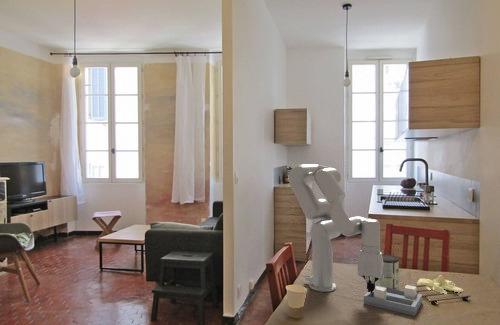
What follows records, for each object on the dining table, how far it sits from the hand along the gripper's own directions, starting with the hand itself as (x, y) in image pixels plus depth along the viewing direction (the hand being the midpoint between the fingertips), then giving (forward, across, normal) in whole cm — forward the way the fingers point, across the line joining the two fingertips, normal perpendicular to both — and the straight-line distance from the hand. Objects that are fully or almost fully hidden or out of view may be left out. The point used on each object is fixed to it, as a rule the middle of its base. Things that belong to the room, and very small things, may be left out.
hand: (370, 291), depth 154 cm
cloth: (+6, +22, +35) cm, 42 cm away
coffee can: (+5, +1, +22) cm, 23 cm away
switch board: (+5, +8, +4) cm, 10 cm away
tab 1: (+3, +4, 0) cm, 5 cm away
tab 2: (+3, +14, +9) cm, 17 cm away
